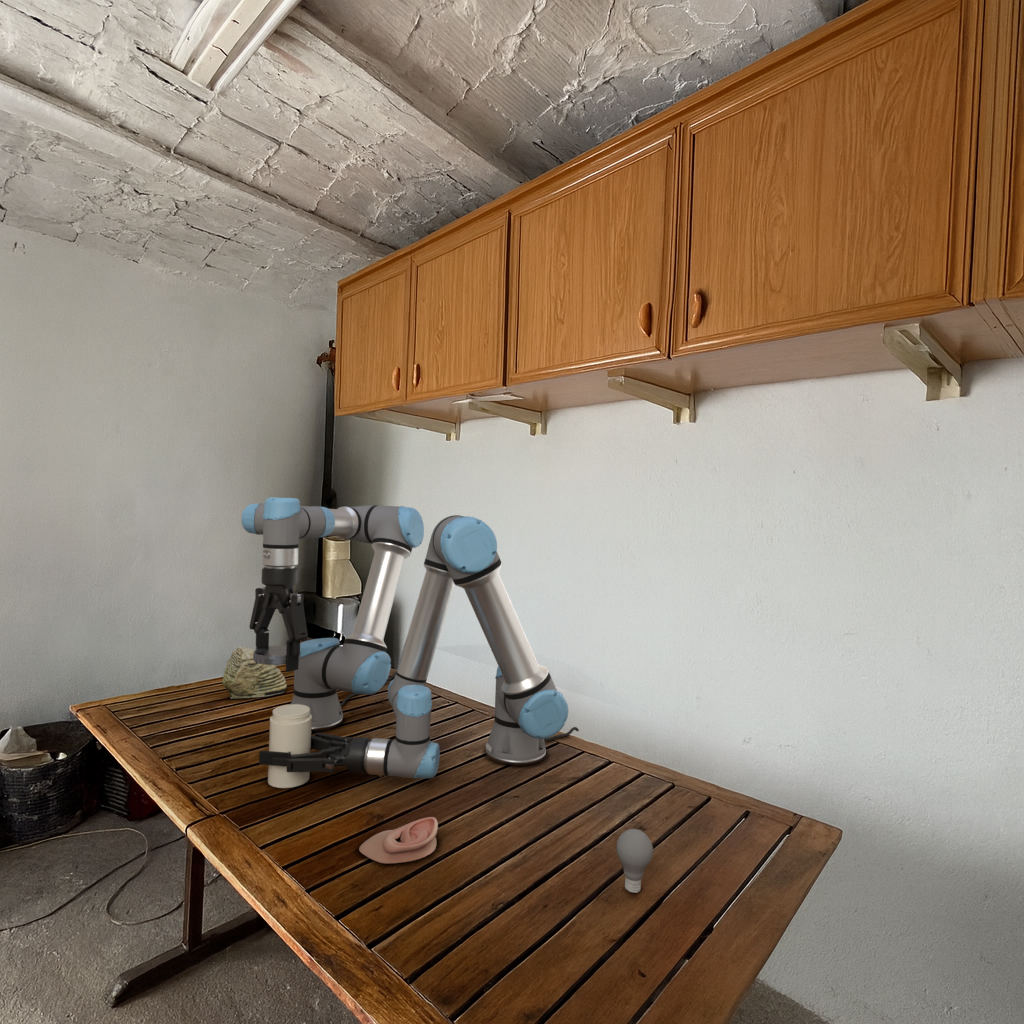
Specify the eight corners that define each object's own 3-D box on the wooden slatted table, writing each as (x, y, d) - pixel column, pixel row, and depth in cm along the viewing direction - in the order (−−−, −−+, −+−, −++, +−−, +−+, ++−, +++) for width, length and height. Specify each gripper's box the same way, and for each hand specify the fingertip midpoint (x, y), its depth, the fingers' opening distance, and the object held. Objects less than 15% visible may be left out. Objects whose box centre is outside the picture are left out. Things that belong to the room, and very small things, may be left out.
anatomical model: (352, 836, 111) (378, 805, 123) (351, 858, 111) (377, 826, 123) (423, 847, 109) (444, 815, 120) (422, 870, 109) (443, 836, 120)
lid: (244, 663, 137) (244, 654, 137) (266, 652, 147) (267, 644, 147) (287, 666, 136) (288, 657, 136) (307, 655, 146) (308, 646, 146)
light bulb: (610, 879, 108) (613, 822, 108) (644, 879, 109) (647, 822, 109) (619, 902, 102) (622, 840, 102) (655, 901, 103) (658, 840, 103)
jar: (318, 775, 144) (320, 707, 144) (290, 791, 136) (293, 719, 135) (287, 767, 147) (289, 701, 147) (258, 782, 139) (261, 712, 139)
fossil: (218, 695, 195) (220, 647, 195) (278, 685, 208) (279, 640, 207) (228, 703, 189) (230, 653, 188) (289, 692, 201) (290, 645, 201)
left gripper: (234, 563, 144) (231, 660, 144) (299, 573, 132) (295, 679, 132) (263, 561, 150) (260, 654, 151) (327, 570, 138) (324, 671, 139)
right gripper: (352, 795, 129) (245, 787, 131) (381, 753, 151) (289, 746, 152) (353, 759, 129) (246, 751, 131) (383, 722, 151) (291, 715, 152)
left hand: (276, 666), depth 142 cm, fingers closed on lid, 10 cm apart
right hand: (270, 748), depth 142 cm, fingers closed on jar, 9 cm apart
